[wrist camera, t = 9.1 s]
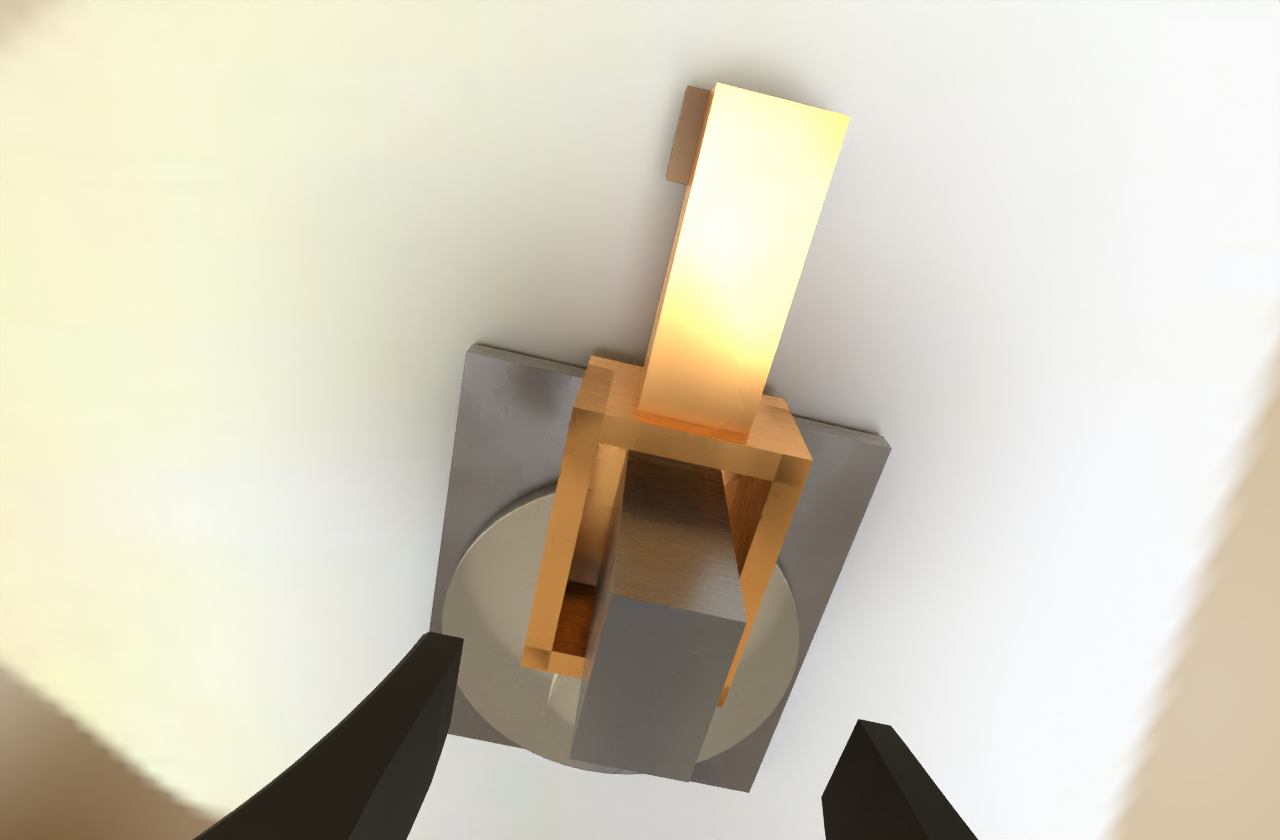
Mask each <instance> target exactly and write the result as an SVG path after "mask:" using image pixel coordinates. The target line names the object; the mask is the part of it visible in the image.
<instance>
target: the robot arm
mask: <svg viewBox="0 0 1280 840" xmlns="http://www.w3.org/2000/svg"><path fill="white" fill-rule="evenodd" d="M463 642H464V638H459V637H454V636H449V635H444V634H439V633H435V632H428V633H426V634H424V635H422V637H421V638H420V639H419V640H418V642H417V643H416V644H415V645H414V647H413V648H412V649H411V650H410V651H409V652H408V654H407V655H406V656H405V657H404V658H403V659H402V660H401V661H400V663H399V664H398V665H397V666H396V667H395V668H394V669H393V670H392V671H391V672H390V673H389V674H388V675H387V677H386V678H385V679H384V680H383V681H382V682H381V683H380V684H379V685H378V686H377V687H376V688H375V689H374V690H373V691H372V692H371V693H370V694H369V695H368V696H367V697H366V698H365V699H364V700H363V701H362V702H361V703H360V704H359V705H358V706H357V707H356V708H355V709H354V710H353V711H352V712H351V713H350V714H348V715H347V716H346V717H345V718H344V719H343V720H342V721H341V722H340V723H339V724H338V725H337V726H336V727H335V728H333V729H332V730H331V731H330V732H329V733H328V734H327V735H326V736H324V737H323V738H322V739H321V740H320V741H319V742H318V743H317V744H315V745H314V746H313V747H312V748H311V749H310V750H309V751H307V752H306V753H305V754H304V755H303V756H302V757H301V758H300V759H298V760H297V761H296V762H295V763H294V764H292V765H291V766H290V767H289V768H288V769H286V770H285V771H284V772H283V773H281V774H280V775H279V776H278V777H277V778H275V779H274V780H273V781H272V782H270V783H269V784H268V785H267V786H265V787H264V788H263V789H261V790H260V791H259V792H257V793H256V794H255V795H254V796H252V797H251V798H250V799H248V800H247V801H246V802H244V803H243V804H242V805H240V806H239V807H238V808H236V809H235V810H234V811H232V812H231V813H230V814H228V815H227V816H225V817H224V818H223V819H221V820H220V821H218V822H217V823H216V824H214V825H213V826H211V827H210V828H208V829H207V830H206V831H204V832H203V833H201V834H200V835H199V836H197V837H196V838H194V839H193V840H406V839H407V837H408V835H409V833H410V830H411V828H412V826H413V823H414V821H415V819H416V817H417V814H418V812H419V810H420V807H421V805H422V803H423V801H424V798H425V796H426V794H427V791H428V789H429V787H430V785H431V782H432V779H433V776H434V773H435V770H436V767H437V764H438V761H439V758H440V755H441V752H442V749H443V746H444V743H445V739H446V736H447V733H448V730H449V727H450V724H451V718H452V711H453V705H454V699H455V693H456V686H457V680H458V674H459V667H460V661H461V655H462V649H463ZM821 798H822V807H823V817H824V827H825V836H826V840H978V839H977V837H976V836H975V835H974V834H973V832H972V831H971V830H970V829H969V827H968V826H967V825H966V823H965V822H964V821H963V820H962V818H961V817H960V816H959V814H958V813H957V812H956V810H955V809H954V808H953V807H952V805H951V804H950V803H949V801H948V800H947V799H946V797H945V796H944V795H943V793H942V792H941V791H940V789H939V788H938V787H937V785H936V784H935V783H934V781H933V780H932V779H931V777H930V776H929V775H928V773H927V772H926V771H925V769H924V768H923V767H922V765H921V764H920V763H919V762H918V760H917V759H916V758H915V756H914V755H913V754H912V752H911V751H910V750H909V748H908V747H907V746H906V744H905V743H904V742H903V740H902V739H901V738H900V737H899V735H898V734H897V733H896V732H895V730H894V729H893V728H892V727H891V726H890V725H885V724H880V723H875V722H870V721H865V720H860V719H858V721H857V723H856V725H855V727H854V730H853V732H852V734H851V736H850V738H849V740H848V742H847V744H846V747H845V749H844V751H843V753H842V755H841V757H840V759H839V761H838V763H837V766H836V768H835V770H834V772H833V774H832V776H831V778H830V780H829V782H828V785H827V787H826V789H825V791H824V793H823V795H822V797H821Z"/></svg>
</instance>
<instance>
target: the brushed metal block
mask: <svg viewBox="0 0 1280 840" xmlns="http://www.w3.org/2000/svg"><path fill="white" fill-rule="evenodd" d="M746 623H747V622H746V616H745V610H744V604H743V598H742V592H741V586H740V580H739V574H738V567H737V561H736V555H735V549H734V543H733V537H732V531H731V525H730V519H729V513H728V507H727V501H726V495H725V489H724V483H723V477H722V471H721V470H720V469H715V468H711V467H706V466H702V465H697V464H693V463H688V462H684V461H679V460H675V459H670V458H666V457H661V456H657V455H652V454H648V453H643V452H639V451H634V450H630V449H627V451H626V455H625V459H624V463H623V467H622V471H621V475H620V479H619V484H618V488H617V492H616V496H615V500H614V504H613V508H612V512H611V516H610V520H609V525H608V529H607V533H606V537H605V541H604V545H603V549H602V553H601V559H600V565H599V572H598V578H597V585H596V591H595V597H594V604H593V610H592V616H591V623H590V629H589V635H588V642H587V648H586V655H585V661H584V667H583V674H582V680H581V686H580V693H579V699H578V705H577V712H576V718H575V724H574V731H573V737H572V744H571V750H570V756H569V759H572V760H578V761H583V762H588V763H593V764H598V765H603V766H608V767H613V768H618V769H623V770H629V771H634V772H639V773H644V774H649V775H654V776H659V777H664V778H669V779H674V780H679V781H685V782H689V781H690V778H691V776H692V773H693V770H694V767H695V765H696V762H697V759H698V756H699V753H700V751H701V748H702V745H703V742H704V740H705V737H706V734H707V731H708V729H709V726H710V723H711V720H712V717H713V715H714V712H715V709H716V706H717V704H718V701H719V698H720V695H721V692H722V690H723V687H724V684H725V681H726V679H727V676H728V673H729V670H730V668H731V665H732V662H733V659H734V656H735V654H736V651H737V648H738V645H739V643H740V640H741V637H742V634H743V632H744V629H745V626H746Z"/></svg>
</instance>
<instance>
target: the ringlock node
mask: <svg viewBox="0 0 1280 840" xmlns="http://www.w3.org/2000/svg"><path fill="white" fill-rule="evenodd" d="M850 117H851V116H847V115H843V114H839V113H835V112H832V111H828V110H824V109H820V108H816V107H812V106H808V105H804V104H800V103H796V102H792V101H788V100H784V99H780V98H776V97H772V96H768V95H764V94H760V93H756V92H753V91H749V90H745V89H741V88H737V87H733V86H729V85H725V84H721V83H717V84H716V85H715V86H714V87H713V88H712V89H711V90H710V91H707V90H704V89H700V88H696V87H692V86H687V89H686V92H685V96H684V101H683V105H682V109H681V114H680V118H679V123H678V127H677V131H676V136H675V140H674V144H673V149H672V153H671V158H670V162H669V166H668V171H667V175H666V180H669V181H674V182H678V183H682V184H686V185H687V188H686V192H685V196H684V200H683V204H682V209H681V213H680V217H679V221H678V225H677V229H676V233H675V238H674V242H673V246H672V250H671V254H670V258H669V262H668V267H667V271H666V275H665V279H664V283H663V287H662V291H661V296H660V300H659V304H658V308H657V312H656V316H655V320H654V325H653V329H652V333H651V337H650V341H649V345H648V349H647V354H646V358H645V362H644V366H643V367H641V366H637V365H632V364H628V363H624V362H619V361H615V360H611V359H606V358H602V357H598V356H593V355H591V357H590V360H589V363H588V366H587V368H586V369H584V368H579V367H575V366H570V365H566V364H562V363H557V362H553V361H548V360H544V359H540V358H535V357H531V356H526V355H522V354H518V353H513V352H509V351H504V350H500V349H496V348H491V347H487V346H482V345H478V344H473V345H472V346H471V347H470V349H469V350H468V351H467V352H466V358H465V366H464V373H463V381H462V389H461V396H460V404H459V411H458V419H457V426H456V434H455V442H454V449H453V457H452V464H451V472H450V479H449V487H448V494H447V502H446V510H445V517H444V525H443V532H442V540H441V547H440V555H439V563H438V570H437V578H436V585H435V593H434V600H433V608H432V615H431V623H430V631H429V632H435V633H439V634H444V635H449V636H454V637H459V638H464V642H463V649H462V655H461V661H460V667H459V674H458V680H457V686H456V693H455V699H454V705H453V711H452V718H451V724H450V727H449V730H448V733H447V734H452V735H457V736H462V737H467V738H473V739H478V740H483V741H488V742H493V743H498V744H503V745H508V746H513V747H518V748H523V749H526V750H528V751H531V752H533V753H535V754H537V755H539V756H541V757H543V758H546V759H549V760H551V761H554V762H557V763H560V764H563V765H566V766H570V767H574V768H578V769H582V770H587V771H594V772H601V773H610V774H644V773H639V772H634V771H629V770H623V769H618V768H613V767H608V766H603V765H598V764H593V763H588V762H583V761H578V760H572V759H569V756H570V750H571V744H572V737H573V731H574V724H575V718H576V712H577V705H578V699H579V693H580V686H581V680H582V674H583V667H584V661H585V655H586V648H587V642H588V635H589V629H590V623H591V616H592V610H593V604H594V597H595V591H596V585H597V578H598V572H599V565H600V559H601V553H602V549H603V545H604V541H605V537H606V533H607V529H608V525H609V520H610V516H611V512H612V508H613V504H614V500H615V496H616V492H617V488H618V484H619V479H620V475H621V471H622V467H623V463H624V459H625V455H626V451H627V449H630V450H634V451H639V452H643V453H648V454H652V455H657V456H661V457H666V458H670V459H675V460H679V461H684V462H688V463H693V464H697V465H702V466H706V467H711V468H715V469H720V470H721V471H722V477H723V483H724V489H725V495H726V501H727V507H728V513H729V519H730V525H731V531H732V537H733V543H734V549H735V555H736V561H737V567H738V574H739V580H740V586H741V592H742V598H743V604H744V610H745V616H746V622H747V623H746V626H745V629H744V632H743V634H742V637H741V640H740V643H739V645H738V648H737V651H736V654H735V656H734V659H733V662H732V665H731V668H730V670H729V673H728V676H727V679H726V681H725V684H724V687H723V690H722V692H721V695H720V698H719V701H718V704H717V706H716V709H715V712H714V715H713V717H712V720H711V723H710V726H709V729H708V731H707V734H706V737H705V740H704V742H703V745H702V748H701V751H700V753H699V756H698V759H697V762H696V765H695V767H694V770H693V773H692V776H691V778H690V781H692V782H697V783H702V784H707V785H712V786H717V787H722V788H727V789H732V790H738V791H743V792H748V793H749V792H750V789H751V787H752V784H753V782H754V780H755V777H756V775H757V772H758V770H759V767H760V765H761V763H762V760H763V758H764V755H765V753H766V750H767V748H768V746H769V743H770V741H771V738H772V736H773V734H774V731H775V729H776V726H777V724H778V721H779V719H780V717H781V714H782V712H783V709H784V707H785V705H786V702H787V700H788V697H789V695H790V692H791V690H792V688H793V685H794V683H795V680H796V678H797V676H798V673H799V671H800V668H801V666H802V663H803V661H804V659H805V656H806V654H807V651H808V649H809V647H810V644H811V642H812V639H813V637H814V634H815V632H816V630H817V627H818V625H819V622H820V620H821V617H822V615H823V613H824V610H825V608H826V605H827V603H828V601H829V598H830V596H831V593H832V591H833V588H834V586H835V584H836V581H837V579H838V576H839V574H840V572H841V569H842V567H843V564H844V562H845V559H846V557H847V555H848V552H849V550H850V547H851V545H852V543H853V540H854V538H855V535H856V533H857V530H858V528H859V526H860V523H861V521H862V518H863V516H864V513H865V511H866V509H867V506H868V504H869V501H870V499H871V497H872V494H873V492H874V489H875V487H876V484H877V482H878V480H879V477H880V475H881V472H882V470H883V468H884V465H885V463H886V460H887V458H888V455H889V453H890V451H891V447H890V446H889V444H888V443H887V441H886V440H885V439H884V437H882V436H878V435H874V434H869V433H865V432H860V431H856V430H852V429H847V428H843V427H838V426H834V425H830V424H825V423H821V422H816V421H812V420H808V419H803V418H799V417H794V416H792V413H791V411H790V409H789V407H788V405H787V402H786V400H785V399H781V398H777V397H772V396H768V395H764V394H762V393H763V390H764V386H765V383H766V380H767V377H768V374H769V371H770V368H771V364H772V361H773V358H774V355H775V352H776V349H777V346H778V343H779V339H780V336H781V333H782V330H783V327H784V324H785V321H786V317H787V314H788V311H789V308H790V305H791V302H792V299H793V296H794V292H795V289H796V286H797V283H798V280H799V277H800V274H801V270H802V267H803V264H804V261H805V258H806V255H807V252H808V249H809V245H810V242H811V239H812V236H813V233H814V230H815V227H816V224H817V220H818V217H819V214H820V211H821V208H822V205H823V202H824V198H825V195H826V192H827V189H828V186H829V183H830V180H831V177H832V173H833V170H834V167H835V164H836V161H837V158H838V155H839V151H840V148H841V145H842V142H843V139H844V136H845V133H846V130H847V126H848V123H849V120H850Z"/></svg>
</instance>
